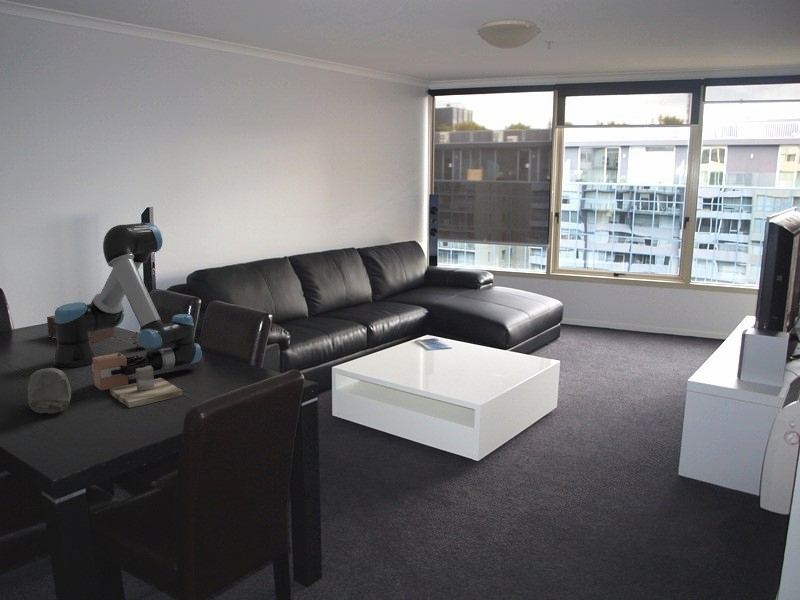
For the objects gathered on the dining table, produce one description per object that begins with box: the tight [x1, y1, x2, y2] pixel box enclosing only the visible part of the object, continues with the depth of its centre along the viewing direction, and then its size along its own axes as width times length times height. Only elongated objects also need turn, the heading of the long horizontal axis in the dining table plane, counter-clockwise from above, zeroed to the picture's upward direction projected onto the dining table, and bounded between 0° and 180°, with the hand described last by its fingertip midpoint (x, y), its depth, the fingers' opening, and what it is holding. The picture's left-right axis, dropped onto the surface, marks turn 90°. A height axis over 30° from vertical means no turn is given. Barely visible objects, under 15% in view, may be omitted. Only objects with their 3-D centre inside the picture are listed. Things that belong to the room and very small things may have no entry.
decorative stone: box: [27, 367, 72, 414], centre depth 210 cm, size 12×17×15 cm
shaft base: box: [109, 366, 183, 409], centre depth 224 cm, size 18×18×10 cm
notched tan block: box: [92, 352, 129, 391], centre depth 234 cm, size 7×9×11 cm
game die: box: [131, 328, 146, 350], centre depth 283 cm, size 9×8×10 cm
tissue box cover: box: [46, 314, 115, 344], centre depth 300 cm, size 26×14×10 cm, turn 64°
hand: (96, 371), depth 231 cm, fingers open, 8 cm apart
